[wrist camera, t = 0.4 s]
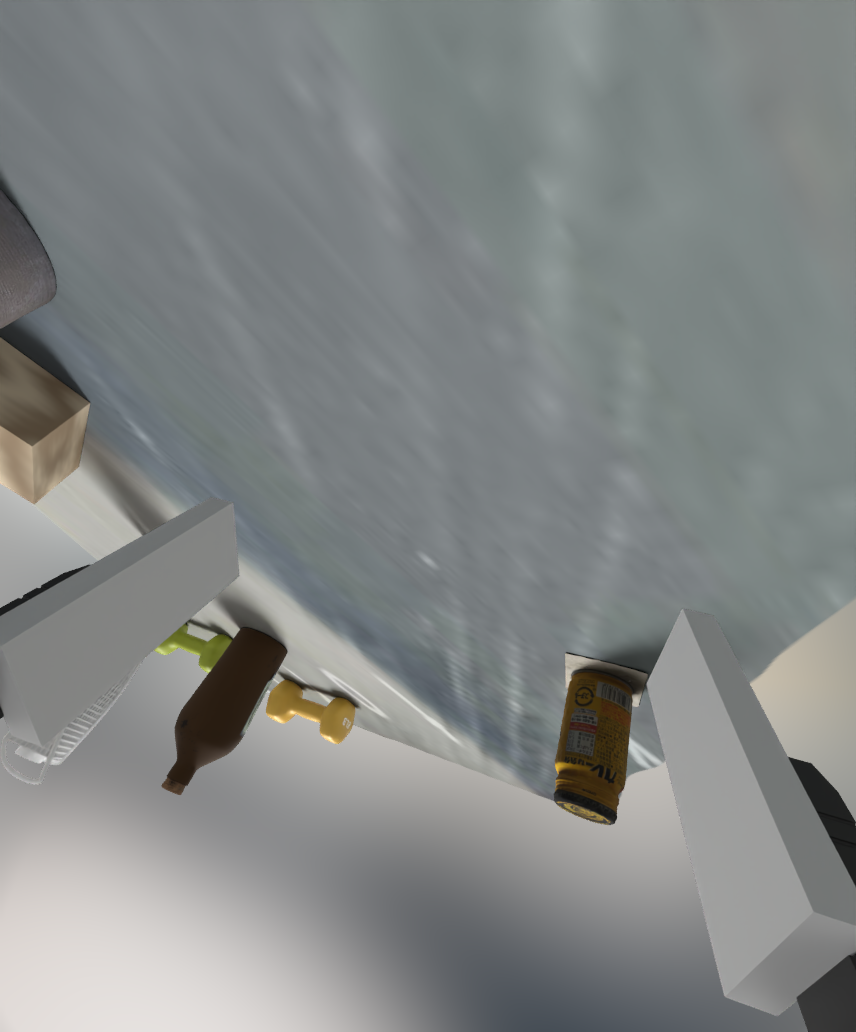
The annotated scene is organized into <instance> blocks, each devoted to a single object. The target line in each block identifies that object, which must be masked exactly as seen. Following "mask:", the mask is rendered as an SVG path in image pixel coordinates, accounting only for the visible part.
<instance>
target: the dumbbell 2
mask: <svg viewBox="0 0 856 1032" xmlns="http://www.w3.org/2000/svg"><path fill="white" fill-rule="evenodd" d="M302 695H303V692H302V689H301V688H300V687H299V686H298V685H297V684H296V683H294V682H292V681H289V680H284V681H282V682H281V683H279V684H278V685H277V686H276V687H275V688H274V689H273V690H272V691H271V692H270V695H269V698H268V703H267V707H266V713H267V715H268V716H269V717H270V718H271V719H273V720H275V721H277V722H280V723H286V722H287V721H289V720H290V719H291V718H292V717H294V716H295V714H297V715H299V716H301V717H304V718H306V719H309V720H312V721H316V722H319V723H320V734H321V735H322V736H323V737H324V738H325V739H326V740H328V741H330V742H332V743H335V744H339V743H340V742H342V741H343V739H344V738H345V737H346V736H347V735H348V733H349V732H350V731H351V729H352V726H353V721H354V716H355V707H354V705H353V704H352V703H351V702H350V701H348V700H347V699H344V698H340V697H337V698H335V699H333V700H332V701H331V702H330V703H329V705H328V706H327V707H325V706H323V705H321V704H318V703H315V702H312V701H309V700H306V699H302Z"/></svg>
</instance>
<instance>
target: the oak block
mask: <svg viewBox="0 0 856 1032" xmlns="http://www.w3.org/2000/svg"><path fill="white" fill-rule="evenodd" d="M89 407H90V403H89V402H88V401H87V400H85V399H84V398H83V397H81V396H80V395H79V394H77V393H76V392H74V391H73V390H72V389H70V388H69V387H68V386H66V385H65V384H63V383H62V382H61V381H59V380H58V379H57V378H55V377H54V376H52V375H51V374H50V373H48V372H47V371H46V370H44V369H43V368H42V367H40V366H39V365H37V364H36V363H35V362H33V361H32V360H31V359H29V358H28V357H26V356H25V355H24V354H22V353H21V352H20V351H18V350H17V349H16V348H14V347H13V346H11V345H10V344H9V343H7V342H6V341H5V340H3V339H2V338H0V484H2V485H4V486H5V487H7V488H9V489H10V490H12V491H13V492H15V493H17V494H18V495H20V496H22V497H23V498H25V499H26V500H28V501H30V502H31V503H33V504H35V503H36V502H38V501H39V500H40V499H41V498H42V497H43V496H45V495H46V494H47V493H48V492H49V491H51V490H52V489H53V488H54V487H55V486H57V485H58V484H59V483H60V482H61V481H62V480H64V479H65V478H66V477H67V476H68V475H70V474H71V473H72V472H73V471H74V470H76V469H77V468H78V467H79V464H80V458H81V452H82V447H83V441H84V435H85V430H86V424H87V418H88V413H89Z"/></svg>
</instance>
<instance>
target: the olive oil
mask: <svg viewBox="0 0 856 1032" xmlns="http://www.w3.org/2000/svg"><path fill="white" fill-rule="evenodd" d="M286 654H287V650H286V649H285V648H284V647H283V646H282V645H281V644H280V643H279V642H277V641H276V640H274V639H273V638H271V637H269V636H267V635H265V634H263V633H261V632H259V631H256V630H253V629H250V628H241V629H240V631H239V632H238V633H237V635H236V636H235V638H234V639H233V640H232V642H231V643H230V645H229V646H228V647H227V649H226V650H225V652H224V653H223V655H222V656H221V657H220V659H219V660H218V661H217V663H216V664H215V665H214V667H213V668H212V670H211V671H210V672H209V674H208V675H207V677H206V678H205V679H204V680H203V682H202V683H201V685H200V686H199V687H198V689H197V690H196V691H195V693H194V694H193V695H192V697H191V698H190V700H189V701H188V702H187V703H186V705H185V706H184V707H183V709H182V710H181V712H180V714H179V717H178V719H177V722H176V725H175V740H176V749H177V761H176V763H175V764H174V766H173V767H172V769H171V770H170V772H169V773H168V775H167V779H166V781H165V782H164V783H163V784H162V788H164V789H166V790H168V791H170V792H173V793H175V794H178V795H181V794H182V792H183V790H184V788H185V786H186V785H188V784H189V782H190V780H191V779H192V777H193V775H194V773H195V772H196V770H197V769H199V768H200V767H202V766H204V765H206V764H208V763H211V762H213V761H215V760H217V759H219V758H222V757H224V756H225V755H227V754H229V753H230V752H231V751H232V750H233V749H234V748H235V747H236V746H237V745H238V744H239V742H240V741H241V739H242V738H243V736H244V734H245V732H246V730H247V729H248V727H249V725H250V723H251V721H252V719H253V717H254V715H255V713H256V711H257V709H258V707H259V705H260V703H261V701H262V699H263V698H264V695H265V693H266V692H267V690H268V688H269V686H270V684H271V682H272V680H273V678H274V677H275V675H276V673H277V671H278V669H279V667H280V665H281V664H282V662H283V660H284V658H285V656H286Z"/></svg>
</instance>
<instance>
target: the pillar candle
mask: <svg viewBox="0 0 856 1032" xmlns="http://www.w3.org/2000/svg"><path fill="white" fill-rule="evenodd" d="M56 289H57V288H56V278H55V274H54V270H53V268H52V265H51V262H50V260H49V258H48V256H47V254H46V252H45V250H44V247H43V245H42V244H41V242H40V241H39V239H38V238H37V236H36V234H35V233H34V231H33V230H32V228H31V227H30V226H29V225H28V223H27V222H26V220H25V218H24V217H23V215H22V214H21V213H20V212H19V210H18V209H17V208H16V207H15V205H13V204H12V203H11V202H10V200H9V199H8V198H7V196H6V195H5V194H4V193H3V191H2V190H1V189H0V329H1V328H3V327H5V326H6V325H8V324H10V323H12V322H13V321H15V320H17V319H19V318H20V317H22V316H24V315H26V314H28V313H30V312H31V311H33V310H35V309H37V308H39V307H41V306H43V305H45V304H47V303H48V302H49V301H51V300H52V298H53V297H54V296H55V294H56V293H55V292H56Z"/></svg>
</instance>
